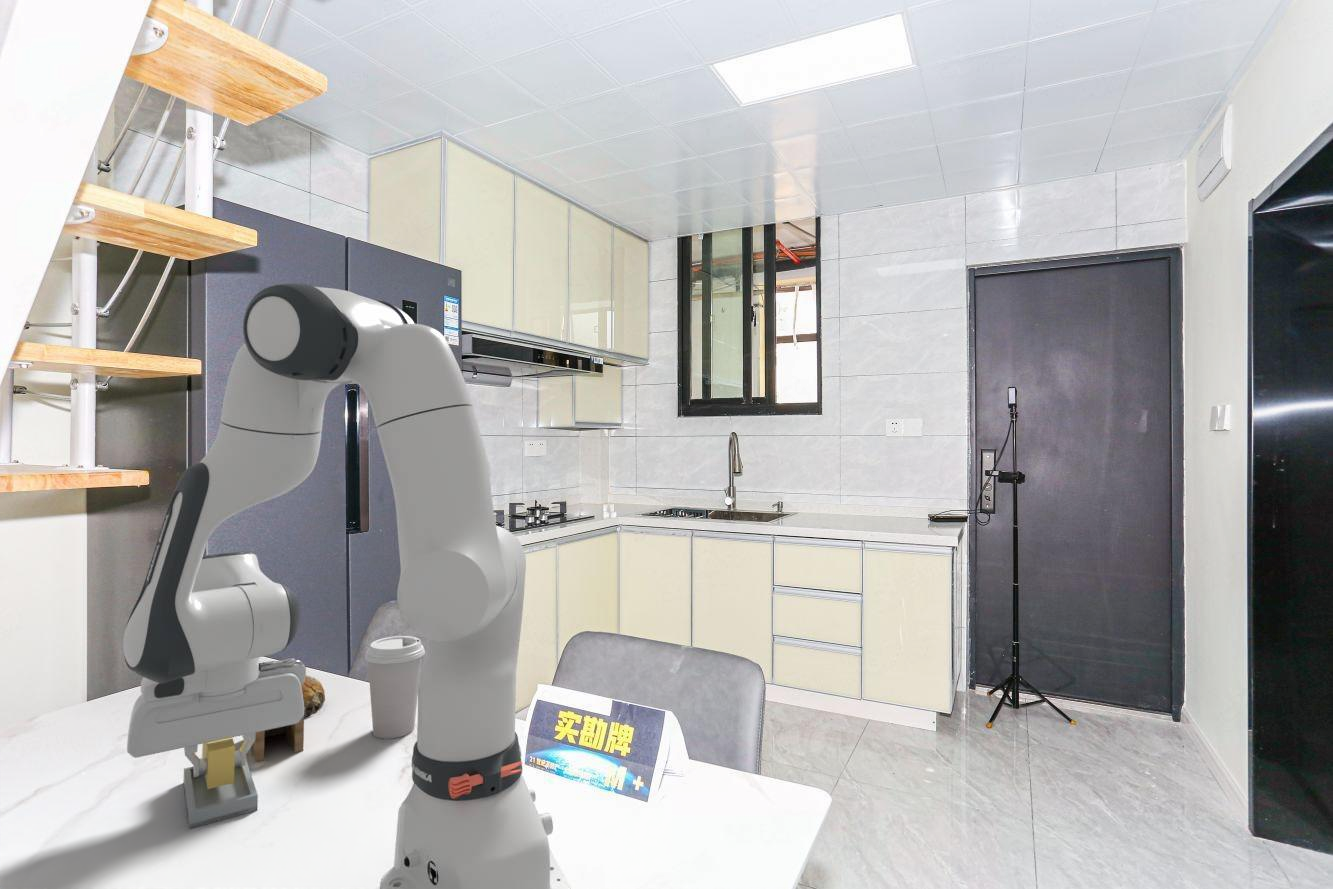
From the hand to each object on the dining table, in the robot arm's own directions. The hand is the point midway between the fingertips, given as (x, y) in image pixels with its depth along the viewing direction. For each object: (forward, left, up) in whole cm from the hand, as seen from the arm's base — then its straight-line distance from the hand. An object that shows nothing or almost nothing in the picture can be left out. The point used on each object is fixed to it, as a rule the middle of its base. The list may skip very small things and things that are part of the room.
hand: (219, 769), depth 93 cm
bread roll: (+28, -14, -4) cm, 31 cm away
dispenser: (+13, -8, -4) cm, 16 cm away
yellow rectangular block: (+3, 0, -1) cm, 3 cm away
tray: (0, 0, -4) cm, 4 cm away
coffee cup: (+8, -25, -4) cm, 27 cm away
